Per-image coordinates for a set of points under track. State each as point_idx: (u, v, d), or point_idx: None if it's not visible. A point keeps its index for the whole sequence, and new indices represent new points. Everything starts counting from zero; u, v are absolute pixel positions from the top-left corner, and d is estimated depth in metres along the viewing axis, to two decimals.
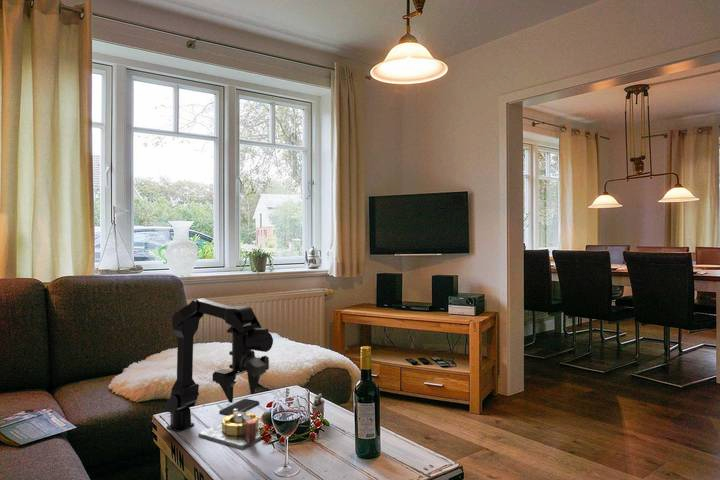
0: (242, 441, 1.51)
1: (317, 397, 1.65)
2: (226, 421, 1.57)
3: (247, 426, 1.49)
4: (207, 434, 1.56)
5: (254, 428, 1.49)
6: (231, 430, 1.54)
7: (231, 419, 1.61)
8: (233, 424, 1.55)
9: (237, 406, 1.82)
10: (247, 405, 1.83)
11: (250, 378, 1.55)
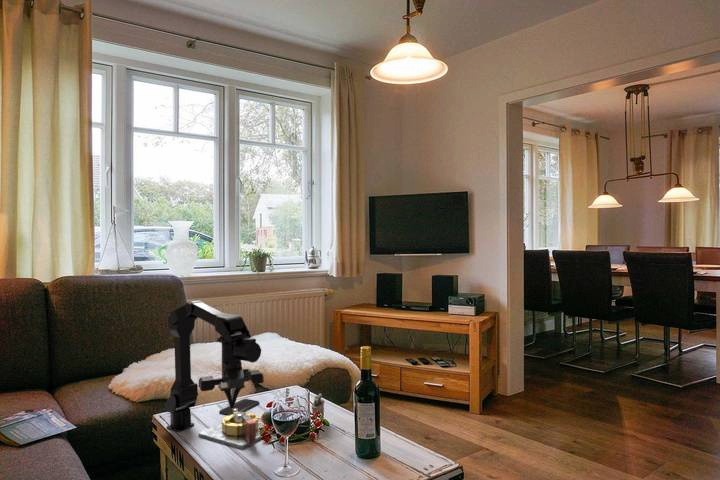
0: (242, 441, 1.51)
1: (317, 397, 1.65)
2: (226, 421, 1.57)
3: (247, 426, 1.49)
4: (207, 434, 1.56)
5: (254, 428, 1.49)
6: (231, 430, 1.54)
7: (231, 419, 1.61)
8: (233, 424, 1.55)
9: (237, 406, 1.82)
10: (247, 405, 1.83)
11: (232, 391, 1.50)
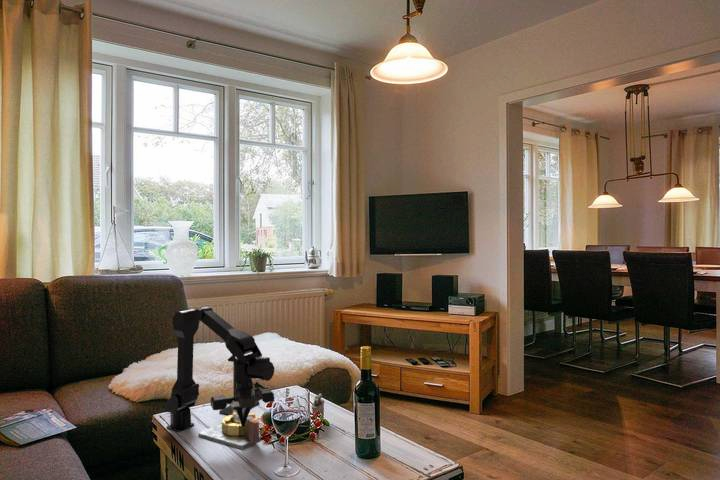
0: (242, 441, 1.51)
1: (317, 397, 1.65)
2: (227, 421, 1.57)
3: (250, 425, 1.50)
4: (207, 434, 1.56)
5: (257, 427, 1.50)
6: (232, 430, 1.54)
7: (230, 419, 1.61)
8: (234, 424, 1.55)
9: None
10: None
11: (243, 410, 1.53)
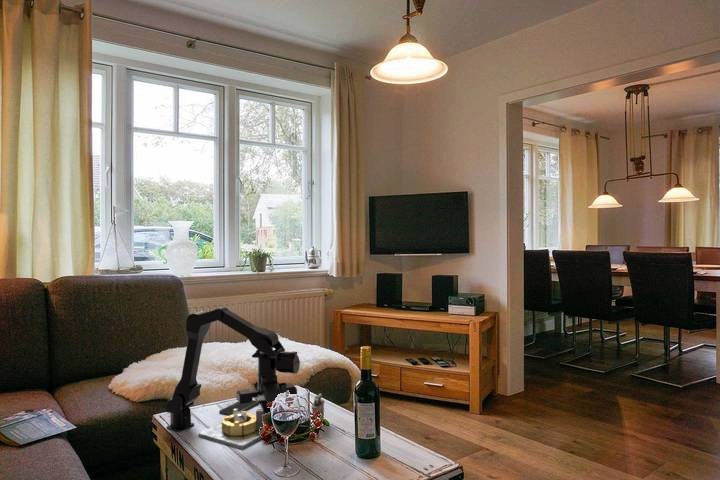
0: (242, 441, 1.51)
1: (317, 397, 1.65)
2: (238, 423, 1.55)
3: None
4: (207, 434, 1.56)
5: None
6: (249, 428, 1.56)
7: None
8: (247, 422, 1.57)
9: (237, 406, 1.82)
10: (247, 405, 1.83)
11: (267, 403, 1.58)
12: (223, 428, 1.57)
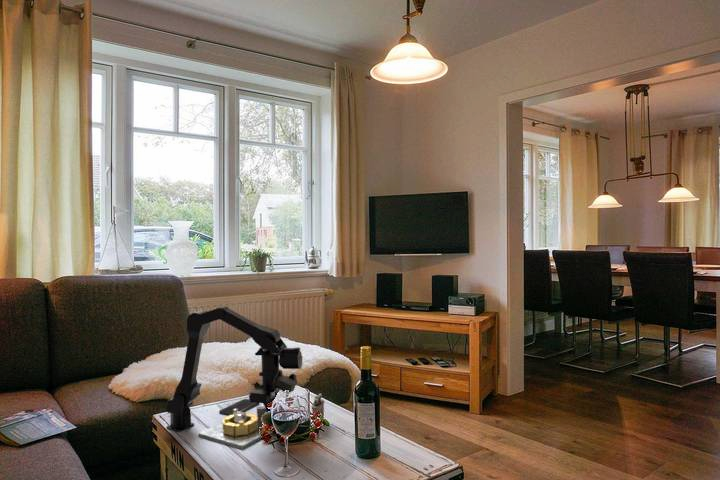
0: (242, 441, 1.51)
1: (317, 397, 1.65)
2: (243, 422, 1.56)
3: None
4: (207, 434, 1.56)
5: None
6: (253, 426, 1.57)
7: None
8: (251, 421, 1.58)
9: (237, 406, 1.82)
10: (247, 405, 1.83)
11: None
12: (226, 430, 1.55)
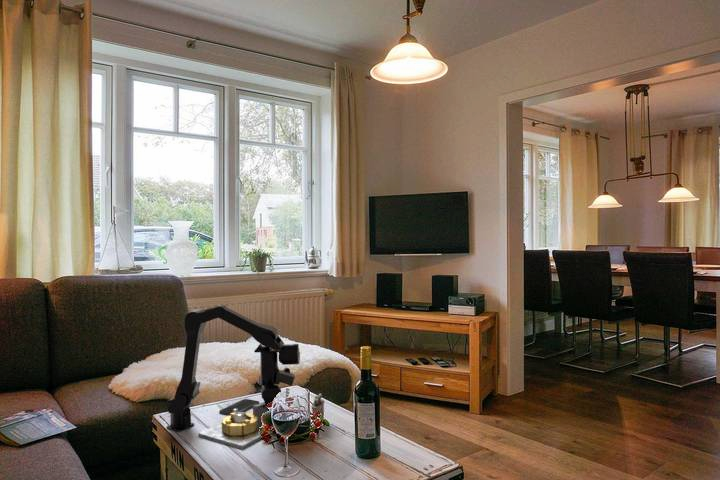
0: (242, 441, 1.51)
1: (317, 397, 1.65)
2: None
3: None
4: (207, 434, 1.56)
5: None
6: (256, 423, 1.60)
7: None
8: (253, 419, 1.60)
9: (237, 406, 1.82)
10: (247, 405, 1.83)
11: None
12: (232, 431, 1.54)
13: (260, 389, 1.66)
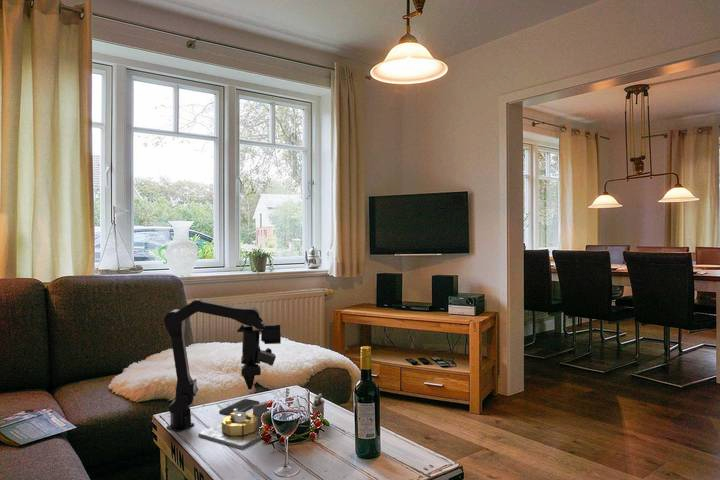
0: (242, 441, 1.51)
1: (317, 397, 1.65)
2: None
3: None
4: (207, 434, 1.56)
5: None
6: (256, 423, 1.60)
7: None
8: (253, 419, 1.60)
9: (237, 406, 1.82)
10: (247, 405, 1.83)
11: None
12: (232, 431, 1.54)
13: None
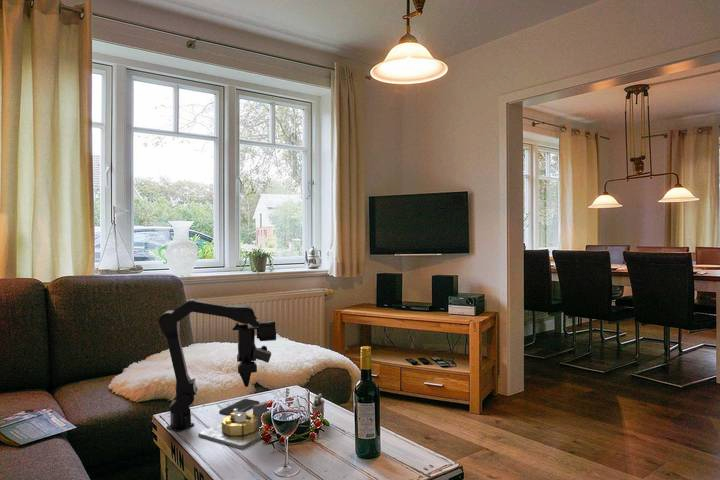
0: (242, 441, 1.51)
1: (317, 397, 1.65)
2: None
3: None
4: (207, 434, 1.56)
5: None
6: (256, 423, 1.60)
7: None
8: (253, 419, 1.60)
9: (237, 406, 1.82)
10: (247, 405, 1.83)
11: None
12: (232, 431, 1.54)
13: None
